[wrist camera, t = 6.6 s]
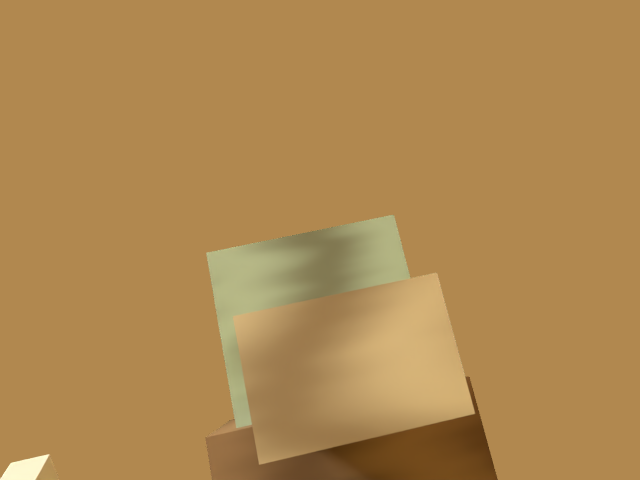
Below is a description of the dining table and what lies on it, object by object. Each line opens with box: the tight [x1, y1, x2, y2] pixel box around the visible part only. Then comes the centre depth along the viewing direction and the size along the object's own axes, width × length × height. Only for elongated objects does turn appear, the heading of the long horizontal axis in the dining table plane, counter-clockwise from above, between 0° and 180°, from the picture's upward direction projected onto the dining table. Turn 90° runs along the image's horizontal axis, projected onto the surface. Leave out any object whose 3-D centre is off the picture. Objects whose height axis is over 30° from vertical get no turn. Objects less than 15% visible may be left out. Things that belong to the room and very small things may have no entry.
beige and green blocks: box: [207, 215, 475, 465], centre depth 19 cm, size 8×16×7 cm, turn 1°
